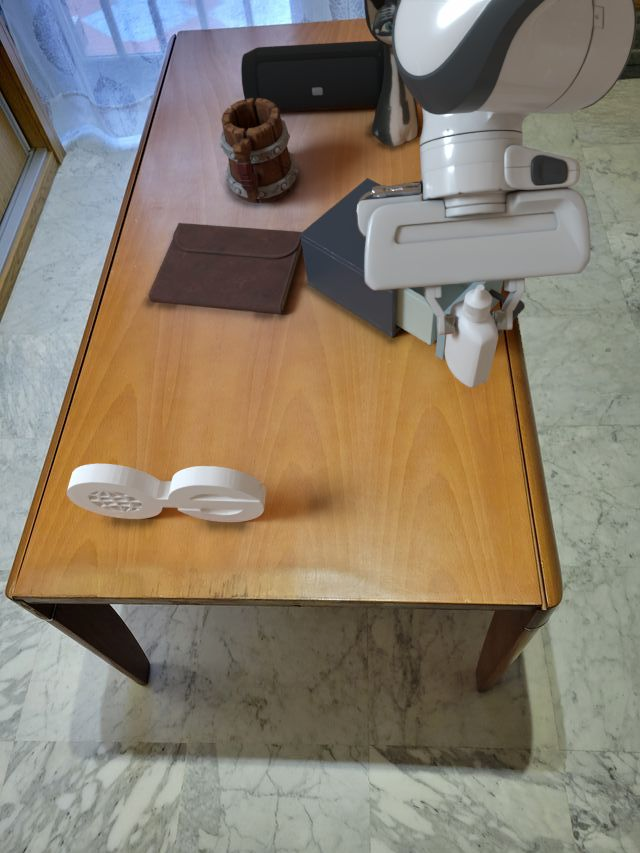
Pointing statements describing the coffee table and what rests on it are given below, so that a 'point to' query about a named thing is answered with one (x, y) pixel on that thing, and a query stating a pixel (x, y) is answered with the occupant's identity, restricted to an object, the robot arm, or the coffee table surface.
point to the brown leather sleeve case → (228, 268)
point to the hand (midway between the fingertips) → (474, 331)
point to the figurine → (390, 81)
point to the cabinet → (346, 263)
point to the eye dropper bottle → (472, 338)
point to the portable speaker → (315, 75)
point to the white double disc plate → (167, 492)
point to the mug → (257, 151)
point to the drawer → (423, 321)
